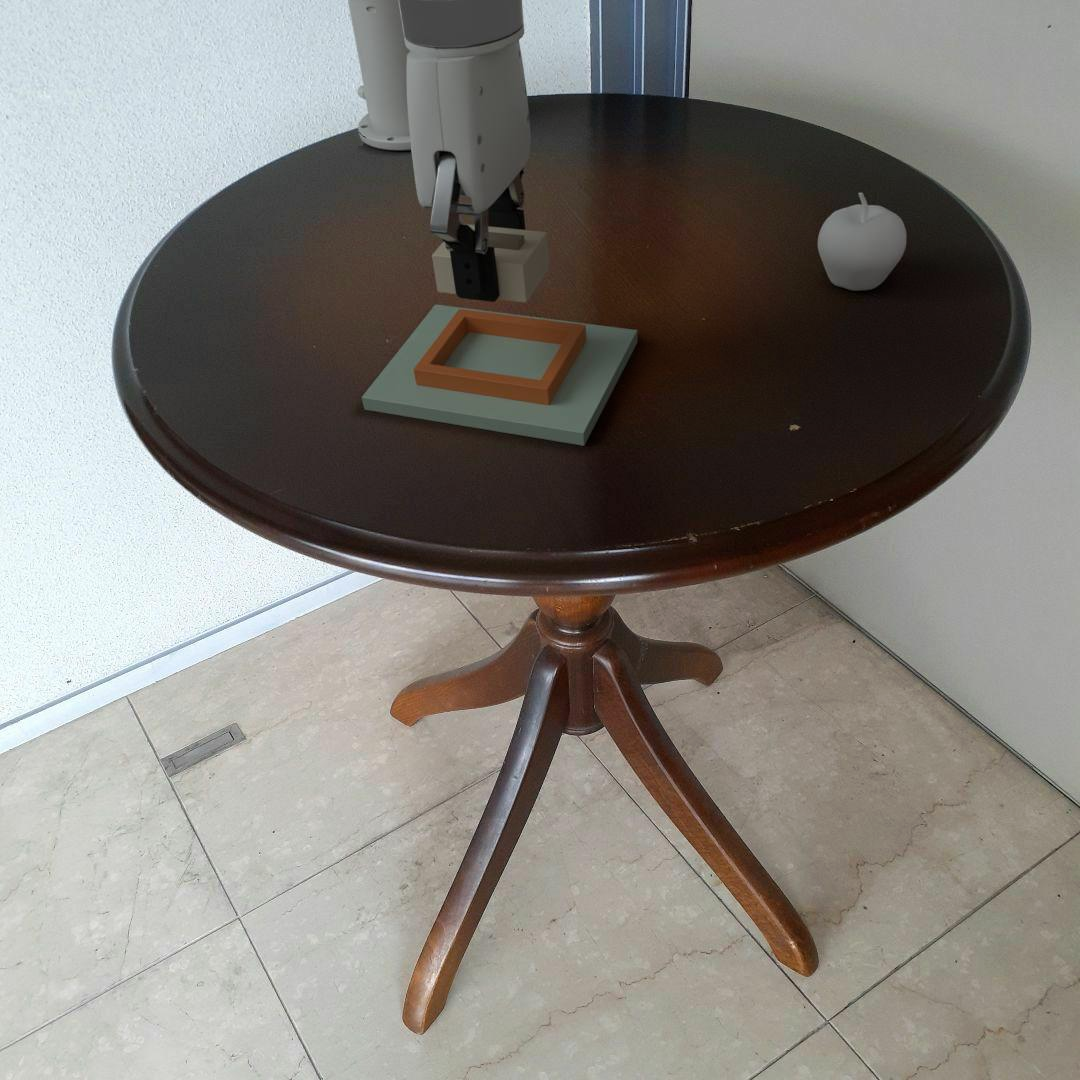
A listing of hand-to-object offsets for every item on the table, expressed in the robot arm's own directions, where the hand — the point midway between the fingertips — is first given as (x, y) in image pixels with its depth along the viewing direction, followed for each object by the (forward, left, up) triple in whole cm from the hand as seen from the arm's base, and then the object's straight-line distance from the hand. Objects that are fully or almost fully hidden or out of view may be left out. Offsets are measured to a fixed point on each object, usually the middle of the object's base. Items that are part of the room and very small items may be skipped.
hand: (492, 275), depth 76 cm
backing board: (0, 0, -9) cm, 9 cm away
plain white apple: (+11, +30, -9) cm, 33 cm away
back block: (0, 0, 0) cm, 0 cm away
